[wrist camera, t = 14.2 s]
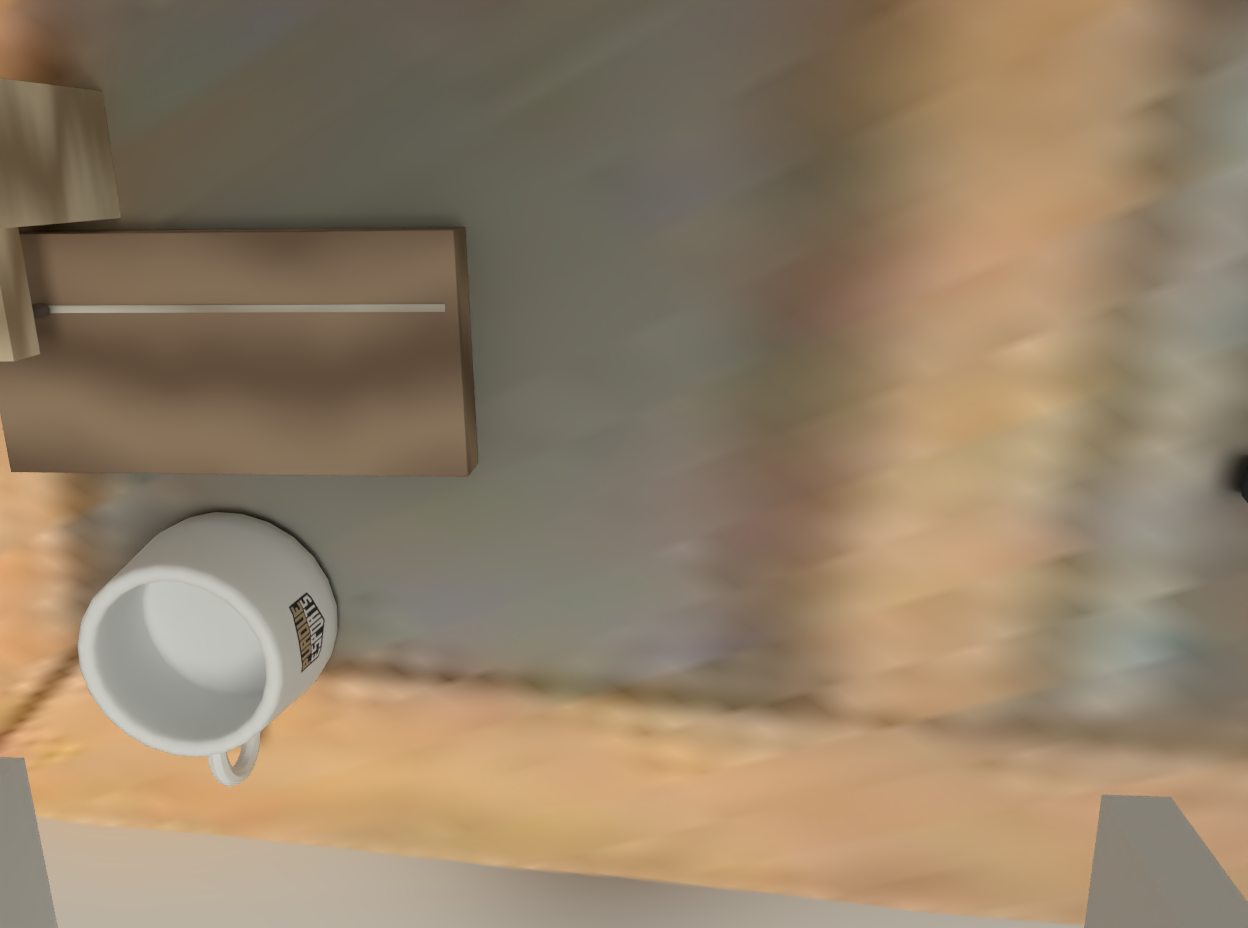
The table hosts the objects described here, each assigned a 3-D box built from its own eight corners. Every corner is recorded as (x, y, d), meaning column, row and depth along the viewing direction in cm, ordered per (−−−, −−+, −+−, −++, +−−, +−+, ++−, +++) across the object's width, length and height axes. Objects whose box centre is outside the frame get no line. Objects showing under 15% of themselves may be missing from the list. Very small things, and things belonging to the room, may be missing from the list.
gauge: (-15, 93, 42) (-176, 77, 34) (102, 91, 42) (-35, 74, 34) (28, 337, 45) (-113, 372, 37) (138, 336, 44) (19, 372, 37)
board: (-1, 232, 44) (-35, 235, 42) (465, 227, 42) (452, 230, 40) (40, 459, 46) (9, 472, 44) (477, 463, 45) (467, 477, 43)
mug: (120, 513, 47) (37, 562, 41) (324, 499, 46) (268, 547, 40) (175, 746, 50) (105, 821, 44) (367, 738, 49) (321, 814, 43)
